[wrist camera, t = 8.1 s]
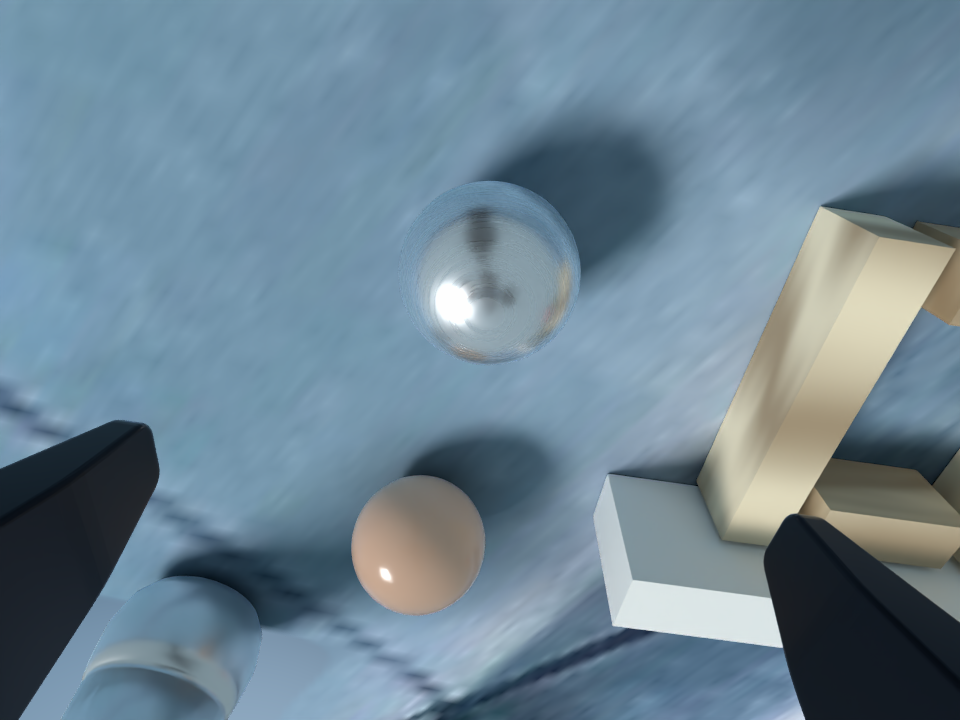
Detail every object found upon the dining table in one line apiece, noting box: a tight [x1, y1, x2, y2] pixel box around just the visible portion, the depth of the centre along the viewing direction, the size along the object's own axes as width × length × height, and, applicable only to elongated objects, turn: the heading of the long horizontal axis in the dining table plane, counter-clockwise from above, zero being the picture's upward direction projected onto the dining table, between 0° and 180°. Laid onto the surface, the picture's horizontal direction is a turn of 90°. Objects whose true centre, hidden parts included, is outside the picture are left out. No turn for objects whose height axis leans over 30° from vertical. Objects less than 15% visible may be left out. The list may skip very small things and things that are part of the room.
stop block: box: [593, 474, 960, 648], centre depth 21 cm, size 2×18×5 cm, turn 82°
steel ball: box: [399, 181, 581, 365], centre depth 15 cm, size 5×5×5 cm
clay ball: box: [351, 475, 485, 616], centre depth 21 cm, size 5×5×5 cm
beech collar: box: [696, 206, 960, 569], centre depth 18 cm, size 11×11×3 cm
